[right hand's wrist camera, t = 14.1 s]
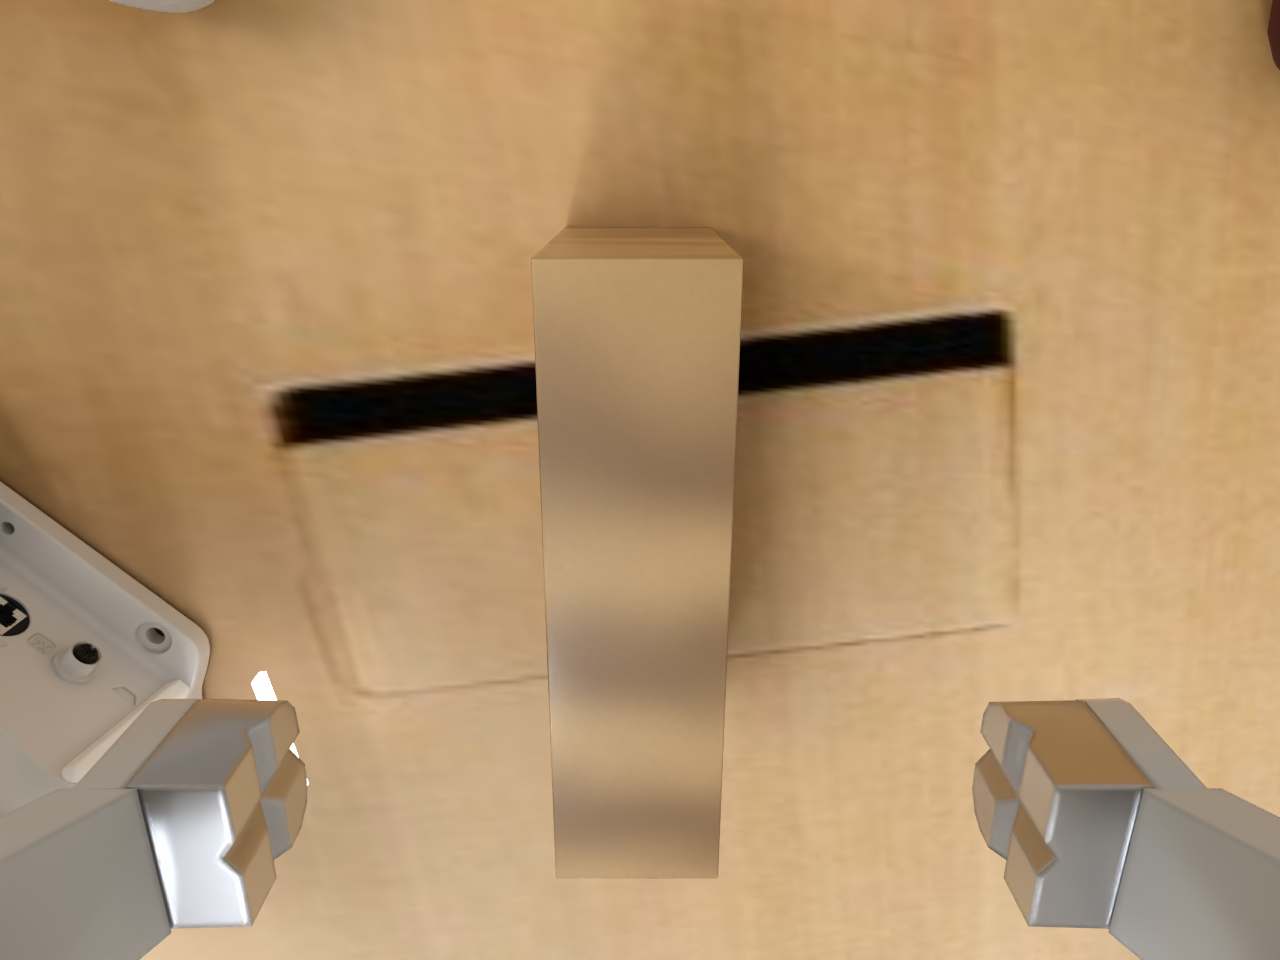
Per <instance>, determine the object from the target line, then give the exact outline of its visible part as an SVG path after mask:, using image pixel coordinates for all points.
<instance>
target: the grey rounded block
mask: <svg viewBox="0 0 1280 960" xmlns="http://www.w3.org/2000/svg"><path fill="white" fill-rule="evenodd" d="M108 1H111V2H115V3H118V4H122V5H126V6H131V7H136V8H140V9H145V10H150V11H156V12H167V13H185V12H192V11H196V10H200V9H202V8H204V7H206V6H208V5H210V4H211V3H213V2H214V1H215V0H108Z"/></svg>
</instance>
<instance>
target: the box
mask: <svg viewBox="0 0 1280 960" xmlns="http://www.w3.org/2000/svg"><path fill="white" fill-rule="evenodd" d="M531 264H532V289H533V314H534V339H535V364H536V389H537V414H538V439H539V464H540V489H541V514H542V539H543V564H544V589H545V614H546V639H547V664H548V689H549V714H550V739H551V764H552V789H553V814H554V839H555V864H556V877H557V878H718V864H719V840H720V816H721V791H722V767H723V743H724V719H725V695H726V671H727V646H728V622H729V598H730V574H731V550H732V526H733V502H734V477H735V453H736V429H737V405H738V381H739V357H740V332H741V308H742V284H743V258H742V257H741V256H740V255H739V254H738V253H737V252H736V251H735V250H734V249H732V248H731V247H730V246H729V245H728V244H727V243H726V242H725V241H724V240H723V239H722V238H721V237H720V236H719V235H718V234H717V233H716V232H715V231H714V230H713V229H712V228H581V227H566V228H564V229H563V230H562V231H561V232H560V233H559V234H558V235H557V236H556V237H555V238H554V239H552V240H551V241H550V242H549V243H548V244H547V245H546V246H545V247H544V248H543V249H542V250H540V251H539V252H538V253H537V254H536V255H535V256H534V257H533V258H532V259H531Z"/></svg>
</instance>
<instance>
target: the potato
mask: <svg viewBox="0 0 1280 960" xmlns="http://www.w3.org/2000/svg"><path fill="white" fill-rule="evenodd" d="M1268 37H1269V42H1270V46H1271V51H1272V56H1273V60H1274V62H1275V64H1276V66H1277V67H1278V68H1279V70H1280V0H1273V2H1272V8H1271V14H1270V20H1269V26H1268Z"/></svg>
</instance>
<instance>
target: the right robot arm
mask: <svg viewBox="0 0 1280 960" xmlns="http://www.w3.org/2000/svg"><path fill="white" fill-rule="evenodd" d="M154 628H158V629H160V630H161V631H162V632H163V633H164V635H165V636H161V635H159V634H158V633H157V632H156V631H155V629H154ZM209 657H210V643H209V640H208V637H207V635H206V634H205V632H204V631H203V630H202V629H201V628H200V627H199V626H198V625H196V624H195V623H194V622H192V621H191V620H190V619H188V618H187V617H186V616H184V615H183V614H182V613H180V612H179V611H177V610H176V609H175V608H173V607H172V606H171V605H169V604H168V603H166V602H165V601H164V600H162V599H161V598H160V597H158V596H157V595H155V594H154V593H153V592H151V591H150V590H149V589H147V588H146V587H145V586H143V585H142V584H140V583H139V582H138V581H136V580H135V579H134V578H132V577H131V576H129V575H128V574H127V573H125V572H124V571H123V570H121V569H120V568H119V567H117V566H116V565H114V564H113V563H112V562H110V561H109V560H108V559H106V558H105V557H103V556H102V555H101V554H99V553H98V552H97V551H95V550H94V549H92V548H91V547H90V546H88V545H87V544H86V543H84V542H83V541H82V540H80V539H79V538H77V537H76V536H75V535H73V534H72V533H71V532H69V531H68V530H66V529H65V528H64V527H62V526H61V525H60V524H58V523H57V522H56V521H54V520H53V519H51V518H50V517H49V516H47V515H46V514H45V513H43V512H42V511H40V510H39V509H38V508H36V507H35V506H34V505H32V504H31V503H29V502H28V501H27V500H25V499H24V498H23V497H21V496H20V495H19V494H17V493H16V492H14V491H13V490H12V489H10V488H9V487H8V486H6V485H5V484H3V483H2V482H1V481H0V960H139V959H141V958H142V957H143V956H144V955H145V954H147V953H148V952H149V951H150V950H151V949H153V948H154V947H155V946H156V945H157V944H159V943H160V942H161V941H162V940H163V939H165V938H166V937H167V936H168V935H169V934H170V933H171V929H173V928H208V927H242V926H252V924H253V922H254V920H255V919H256V917H257V915H258V913H259V911H260V909H261V907H262V905H263V903H264V901H265V899H266V897H267V895H268V893H269V891H270V889H271V887H272V885H273V883H274V881H275V879H276V873H275V867H274V861H273V860H274V859H276V858H277V857H279V856H280V855H281V854H283V853H284V852H286V851H287V850H289V849H290V848H291V847H292V846H293V844H294V841H295V839H296V837H297V835H298V833H299V831H300V829H301V826H302V821H303V817H304V813H305V808H306V804H307V785H308V780H307V777H306V770H305V764H304V763H303V762H302V761H301V760H300V759H299V757H298V754H297V751H296V749H295V746H294V744H293V742H294V741H295V739H296V737H297V735H298V734H299V727H298V722H297V717H296V712H295V708H294V707H293V706H292V705H291V704H290V703H289V702H288V701H277V699H276V697H275V694H274V691H273V689H272V686H271V684H270V681H269V678H268V676H267V673H266V671H264V672H259V673H258V675H257V676H256V677H255V679H254V680H253V681H252V683H251V684H252V687H253V689H254V692H255V695H256V697H257V700H229V699H204V700H203V697H202V685H203V682H204V678H205V675H206V671H207V667H208V662H209ZM981 734H982V735H983V737H984V739H985V741H986V742H987V744H988V746H989V747H990V749H989V750H988V751H987V752H986V754H985V755H984V756H983V757H982V758H981V759H980V760H979V761H978V762H977V763H976V764H975V771H974V779H973V788H972V789H973V799H974V810H975V815H976V818H977V822H978V825H979V828H980V831H981V833H982V835H983V837H984V839H985V842H986V844H987V846H988V847H989V848H990V849H991V850H993V851H994V852H996V853H997V854H999V855H1000V856H1001V857H1003V858H1004V859H1006V860H1007V861H1006V867H1005V873H1004V879H1005V881H1006V883H1007V885H1008V887H1009V889H1010V891H1011V893H1012V895H1013V897H1014V899H1015V901H1016V903H1017V905H1018V907H1019V909H1020V911H1021V913H1022V914H1023V916H1024V918H1025V920H1026V922H1027V924H1028V926H1036V927H1071V928H1106V929H1109V933H1110V934H1111V935H1112V936H1114V937H1115V938H1116V939H1117V940H1118V941H1119V942H1121V943H1122V944H1123V945H1124V946H1125V947H1127V948H1128V949H1129V950H1130V951H1131V952H1133V953H1134V954H1135V955H1136V956H1137V957H1139V958H1140V959H1141V960H1280V817H1278V816H1276V815H1274V814H1272V813H1270V812H1267V811H1265V810H1263V809H1261V808H1259V807H1257V806H1255V805H1253V804H1251V803H1249V802H1247V801H1245V800H1243V799H1241V798H1239V797H1237V796H1235V795H1233V794H1231V793H1229V792H1227V791H1225V790H1223V789H1207V788H1206V787H1205V785H1204V784H1203V783H1202V782H1201V781H1200V780H1199V779H1198V778H1197V777H1196V776H1195V774H1194V773H1193V772H1192V771H1191V770H1190V769H1189V768H1188V767H1187V766H1186V764H1185V763H1184V762H1183V761H1182V760H1181V759H1180V758H1179V757H1178V756H1177V755H1176V753H1175V752H1174V751H1173V750H1172V749H1171V748H1170V747H1169V746H1168V745H1167V744H1166V742H1165V741H1164V740H1163V739H1162V738H1161V737H1160V736H1159V735H1158V734H1157V733H1156V731H1155V730H1154V729H1153V728H1152V727H1151V726H1150V725H1149V724H1148V723H1147V721H1146V720H1145V719H1144V718H1143V717H1142V716H1141V715H1140V714H1139V713H1138V712H1137V710H1136V709H1135V708H1134V707H1133V706H1132V705H1131V704H1130V703H1128V702H1126V701H1124V700H1122V699H1120V698H1110V699H1080V700H1075V701H1015V702H989V704H988V706H987V708H986V710H985V712H984V715H983V721H982V726H981Z"/></svg>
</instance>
